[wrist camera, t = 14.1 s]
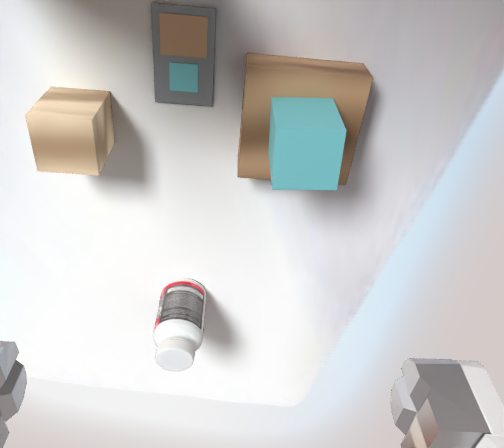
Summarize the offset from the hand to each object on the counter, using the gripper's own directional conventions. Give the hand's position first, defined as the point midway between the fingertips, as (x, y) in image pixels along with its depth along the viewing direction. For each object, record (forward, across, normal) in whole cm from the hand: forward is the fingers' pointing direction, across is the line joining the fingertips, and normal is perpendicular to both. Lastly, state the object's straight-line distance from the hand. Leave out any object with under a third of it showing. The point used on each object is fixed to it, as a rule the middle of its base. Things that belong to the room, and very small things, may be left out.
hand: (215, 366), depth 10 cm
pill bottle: (+33, +4, +32) cm, 46 cm away
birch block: (+33, +13, +10) cm, 37 cm away
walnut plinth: (+34, -6, +8) cm, 35 cm away
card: (+33, +4, +4) cm, 34 cm away
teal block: (+30, -6, +8) cm, 31 cm away
